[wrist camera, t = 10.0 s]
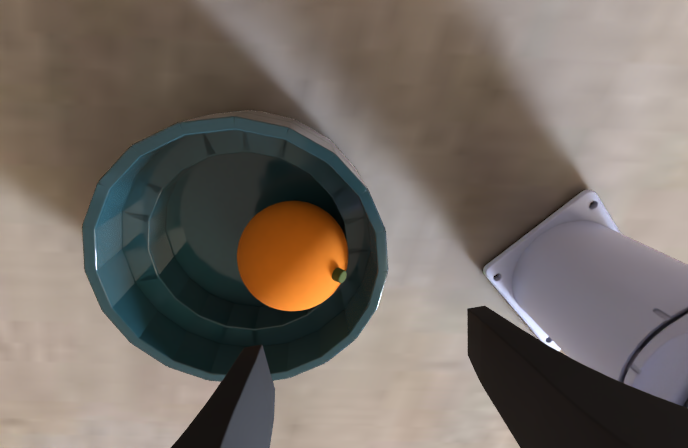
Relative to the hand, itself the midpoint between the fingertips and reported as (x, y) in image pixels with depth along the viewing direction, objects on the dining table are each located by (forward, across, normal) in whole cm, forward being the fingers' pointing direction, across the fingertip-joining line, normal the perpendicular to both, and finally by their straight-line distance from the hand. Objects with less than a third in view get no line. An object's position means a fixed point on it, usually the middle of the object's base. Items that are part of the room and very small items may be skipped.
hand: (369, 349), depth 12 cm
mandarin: (+6, +3, -1) cm, 7 cm away
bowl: (+9, +5, -2) cm, 11 cm away
